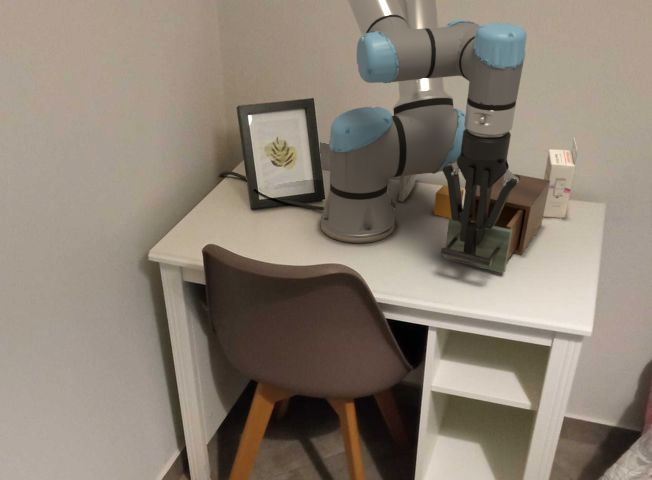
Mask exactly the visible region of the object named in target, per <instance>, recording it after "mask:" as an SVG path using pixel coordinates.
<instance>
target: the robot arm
mask: <svg viewBox="0 0 652 480" xmlns="http://www.w3.org/2000/svg"><path fill="white" fill-rule="evenodd" d="M347 1H348V4H349V7H350V9H351V12H352V14H353V17H354V19H355V22H356V24H357V27H358V30H359V31H360V34H361V36H360V37H359V38H358V41H357V45H356V64H357V71H358V75H359V77H360V78H361V79H362V80H363V81H364V82H366V83H369V84H374V83H375V84H376V83H379V84H380V83H381V84H382V83H383V84H391V83H397V84H398V91H399V98H398V100H397V101H396V103H395V104H394V106H393V108H392V111H393V114H392V113H391V110H389V109H387V108H384V107H380V106H374V107H372V106H363V107H357V108H353V109H350V110H346V111H344V112H343V113H341V114H339V115H338V116H337V117H335V119H334V120H333V122H331V126H330V133H329V142H328V147H329V193H328V196H327V199H326V201H325V205H324V206H321V205H320V206H319V205H313V204H308V203H303V202H299V201H293V200H289V199H286V200H280V201H279V202H280V203H284V204H287V205H291V206H296V207H301V208H306V209H310V210H311V209H312V210H315V211H316V210H317V211H322V213H321V216H320V228H321V231H322V232H323V234H325V235H326V236H327V237H329V238H331V239H333V240H335V241H336V240H337V241H340V242H344V243H351V244H352V243H353V244H366V243H372V242H377V241H381V240H383V239H385V238H387V237H388V236H390V235H391V234H392V233H393V232H394V230H395V223H396V218H395V213H394V211H396V208H397V204H396V202H395V201H394V200H393V198H390V196H389V192H388V189H389V179H390V178H400V176H408V175H415V176H416V175H425V174H433V175H434V174H437V173H440V172H443V175H444V177H445V179H446V181H447V186H448V191H449V200H450V208H451V216H452V220H454V221H458V222H460V223H461V233H460V241H462V242H465V243H464V250H463V252H465V253H470V254H474V255H475V253H476V246H477V245H480V243H481V242H482V241H483V237H484V231H485V228H488V229H491V228H492V227H493V226H494V225H495V223H496V222H497V220H498V218H499V216H500V214H501V212H502V209H503V207H504V205H505V203H506V201H507V198H508V196H509V194H510V192H511V190H512V189H513V188H514V187H515V186H516V184H517V183H518V182H519V181H520V176H519V175H520V174H517V175H513V174H514V173H512V171H510V169H509V167H510V166H509V163H508V155H509V148H510V142H511V137H512V135H511V134H512V133H511V132H510V131H512V130H513V126H514V117H515V113H516V107H517V99H518V95H519V89H520V83H521V77H522V74H523V73H522V72H523V67H524V62H525V59H526V44H527V32H526V29H524V27H523V26H520V25H518V24H512V23H509V22H488V23H483V24H482V25H479V23H475V22H474V21H470V20H467V19H456V20H455V19H454V20H452V21H451V22H449V23H448V24H446V25H444V26H442V27H441V26H440V27H439V23H438V22H439V21H438V13H437V11H438V10H437V2H436V0H347ZM449 77H450V78H451V77H462V78H464V79H465V80H467V82H468V91H467V99H466V108H465V113H464V111H463V110H461V109H459V108H456V107H454V99H453V98H454V97H452V96H451V95H450V94H448V93H447V92H446V91H445V87H444V86H445V85H444V78H449ZM459 173H461V175H462V176H463V179H464V180H465V185H464V190H465V191H464V196H463V199H462V198H461V189H462V188H461V182H460V181H461V180H460V174H459ZM226 175H228V176H229V175H230V176H233V177H237V178H239V179H241V180H243V181H246V177H247V176H245V175H243V174H241V173H238V172H235V171H232V170H231V171H230V170H226V171H222V172H220V173H219V174H218V178H222V177H224V176H226ZM502 176H503V177H504V180H503V182H502V183H503V186H504V187H503V189H502V190H501V192H500V194H499V196H498V199H497V201H496V203H495V205H494V208H493V210H492V212H491V214H490V217H489V218H487V216H488V210H489V203H490V197H491V191H492V187H493V184H494V183H495V182H496V181H498V180H499V179H500V178H501V177H502ZM477 185H479V186H480V197H479V204H478V211H477V218H476V222H471V220H472V219H473V218H474V217H473V211H474V204H475V197H476V190H477ZM460 188H461V189H460ZM393 209H394V211H393ZM472 217H473V218H472ZM463 261H464V260H463ZM466 262H468V261H466Z"/></svg>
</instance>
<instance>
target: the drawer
mask: <svg viewBox="0 0 652 480" xmlns="http://www.w3.org/2000/svg"><path fill="white" fill-rule="evenodd" d="M478 204H479V200H476V199H475V204H474V211H473V217H474V218H473V217H472V218H473V219H472V220H471V222H476V218H477V211H478ZM494 205H495V203H489V210H488V216H487V218H489V217H490V214H491V212H492V210H493V208H494ZM525 212H526V210H524V209H519V208H514V207H509V206H504V207H503V209H502V212H501V214H500V216H499V218H498V220H497V222H496V223H495V225H494V226H493V227H492V228H491V229H488V228H485V231H484V237H483V241H482V242H481V243H480V245H477V246H476V253H475V255H474V254H470V253H465V252H463V250H464V243H465V242H462V241H460V233H461V223H460V222H458V221H454V220H452V217H451V218H448V225H447V226H448V228H447V236H446V242H445V243H446V244H445V247H442V248H441V250H440V255H441V256H444V259H445V260H449V261H452V262H457V263H461V264H465V265H468V266H471V267H472V266H473V267H477V268H481V269H485V270H489V271H492V272H496V273H499V274H500V273H501V274H504V273H505V272H506V269H507V263H508V260H509V259H510V258H511V256H512V254H514V253H513V252H514V250H515V249H516V247H517V246H518V244H519V243H520V239H521V234H522V228H523V223H524V218H525ZM463 260H464V261H463ZM466 261H468V262H466Z"/></svg>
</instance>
